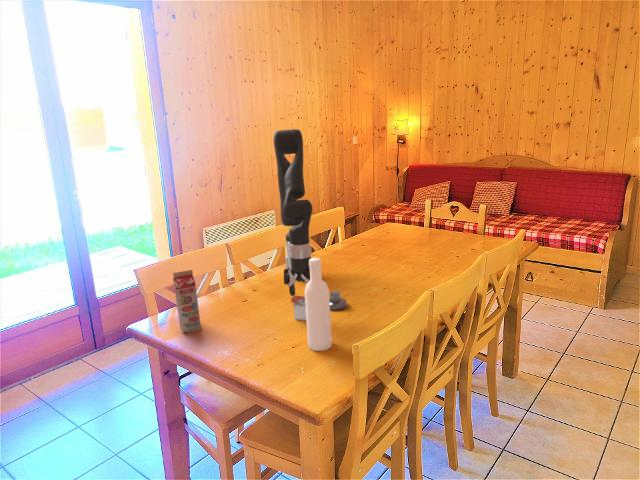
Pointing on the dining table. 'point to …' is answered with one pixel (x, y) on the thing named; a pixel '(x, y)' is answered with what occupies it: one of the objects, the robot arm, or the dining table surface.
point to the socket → (300, 310)
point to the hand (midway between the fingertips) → (303, 296)
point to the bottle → (317, 309)
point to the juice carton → (186, 301)
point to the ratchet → (335, 300)
